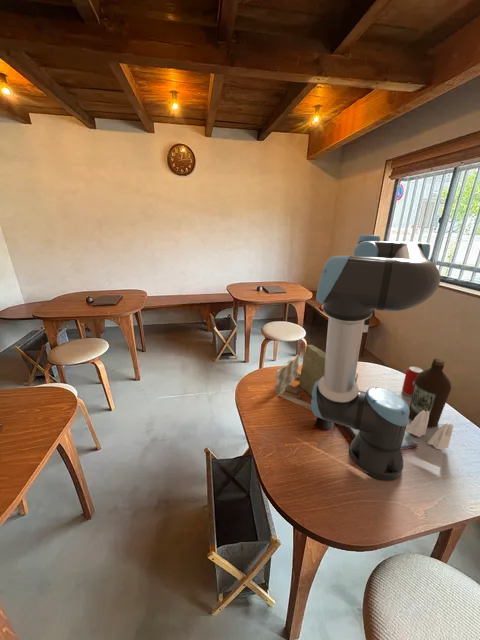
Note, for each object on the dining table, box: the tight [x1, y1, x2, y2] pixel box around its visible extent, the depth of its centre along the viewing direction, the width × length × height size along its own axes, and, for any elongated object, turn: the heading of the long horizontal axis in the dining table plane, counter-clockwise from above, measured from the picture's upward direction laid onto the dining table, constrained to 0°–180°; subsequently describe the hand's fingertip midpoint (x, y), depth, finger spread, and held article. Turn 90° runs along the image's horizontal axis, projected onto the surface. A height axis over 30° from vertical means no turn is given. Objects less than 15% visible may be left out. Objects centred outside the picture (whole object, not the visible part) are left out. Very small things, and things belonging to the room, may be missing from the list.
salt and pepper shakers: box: [405, 410, 454, 451], centre depth 89 cm, size 12×4×11 cm, turn 45°
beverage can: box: [401, 366, 424, 398], centre depth 114 cm, size 6×6×12 cm
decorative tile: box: [299, 344, 326, 397], centre depth 111 cm, size 19×6×20 cm, turn 25°
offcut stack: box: [282, 384, 302, 399], centre depth 113 cm, size 3×7×4 cm, turn 52°
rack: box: [274, 354, 359, 412], centre depth 112 cm, size 19×27×12 cm
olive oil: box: [409, 357, 452, 428], centre depth 96 cm, size 11×11×25 cm
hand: (355, 326), depth 112 cm, fingers open, 13 cm apart
